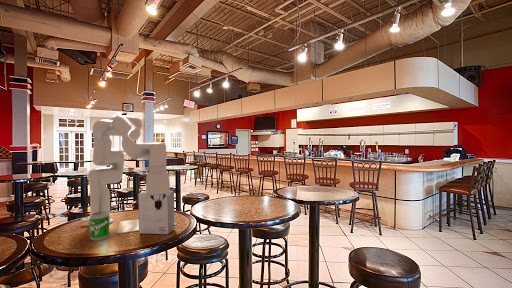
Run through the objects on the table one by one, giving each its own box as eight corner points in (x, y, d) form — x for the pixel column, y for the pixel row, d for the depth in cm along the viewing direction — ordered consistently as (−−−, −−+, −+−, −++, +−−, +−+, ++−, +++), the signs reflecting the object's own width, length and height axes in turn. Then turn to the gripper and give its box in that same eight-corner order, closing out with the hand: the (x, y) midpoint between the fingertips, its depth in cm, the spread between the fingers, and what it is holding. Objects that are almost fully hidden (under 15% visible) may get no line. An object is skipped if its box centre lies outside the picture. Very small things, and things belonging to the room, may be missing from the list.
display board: (117, 234, 122) (117, 233, 122) (120, 222, 142) (120, 221, 142) (176, 225, 134) (176, 224, 134) (171, 215, 154) (171, 214, 154)
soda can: (92, 237, 118) (92, 212, 118) (110, 235, 121) (110, 210, 121) (88, 242, 111) (87, 216, 111) (107, 240, 114) (106, 214, 114)
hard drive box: (175, 229, 127) (174, 190, 127) (168, 234, 120) (167, 194, 119) (146, 228, 129) (146, 190, 128) (138, 233, 121) (137, 193, 121)
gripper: (140, 171, 108) (140, 213, 107) (175, 169, 114) (176, 209, 114) (140, 169, 114) (140, 209, 114) (173, 168, 121) (174, 205, 120)
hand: (158, 209), depth 114 cm, fingers closed
